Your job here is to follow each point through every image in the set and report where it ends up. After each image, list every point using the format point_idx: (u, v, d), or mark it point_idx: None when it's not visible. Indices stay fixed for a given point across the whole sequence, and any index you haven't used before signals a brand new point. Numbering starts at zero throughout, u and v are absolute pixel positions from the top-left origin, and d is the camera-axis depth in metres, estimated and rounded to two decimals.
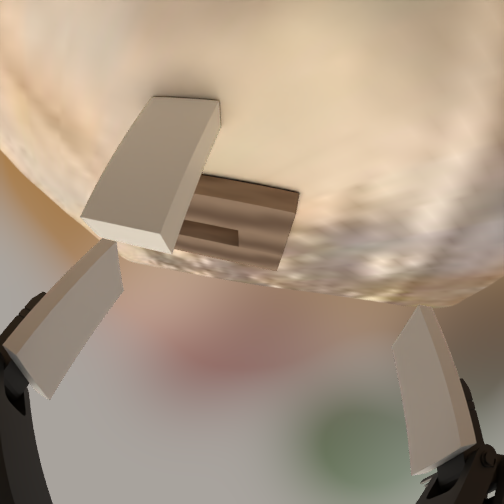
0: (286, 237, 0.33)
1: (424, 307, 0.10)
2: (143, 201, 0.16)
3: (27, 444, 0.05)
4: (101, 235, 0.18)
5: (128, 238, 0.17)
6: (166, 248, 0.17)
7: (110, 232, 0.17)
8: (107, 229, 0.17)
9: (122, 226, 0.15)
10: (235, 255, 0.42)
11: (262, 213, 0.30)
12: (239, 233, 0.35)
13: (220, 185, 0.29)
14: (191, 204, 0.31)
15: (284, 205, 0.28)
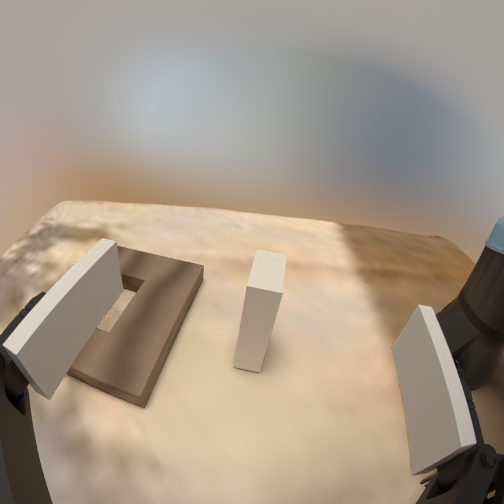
0: (90, 374, 0.23)
1: (424, 307, 0.10)
2: None
3: (27, 444, 0.05)
4: (260, 252, 0.28)
5: (264, 268, 0.26)
6: (256, 286, 0.24)
7: (268, 260, 0.27)
8: (273, 262, 0.27)
9: (284, 275, 0.25)
10: None
11: (139, 365, 0.25)
12: (102, 331, 0.27)
13: (169, 343, 0.30)
14: (158, 311, 0.32)
15: (145, 389, 0.24)
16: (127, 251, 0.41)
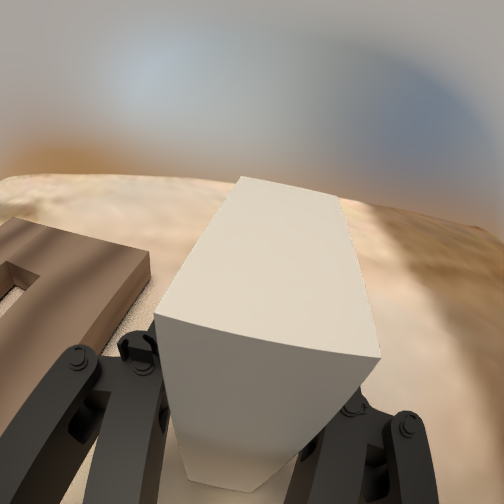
0: None
1: None
2: None
3: (157, 466, 0.06)
4: (252, 183, 0.08)
5: (265, 227, 0.06)
6: (216, 315, 0.04)
7: (281, 204, 0.07)
8: (302, 210, 0.07)
9: (354, 255, 0.05)
10: None
11: None
12: None
13: None
14: (39, 340, 0.12)
15: None
16: (38, 228, 0.21)
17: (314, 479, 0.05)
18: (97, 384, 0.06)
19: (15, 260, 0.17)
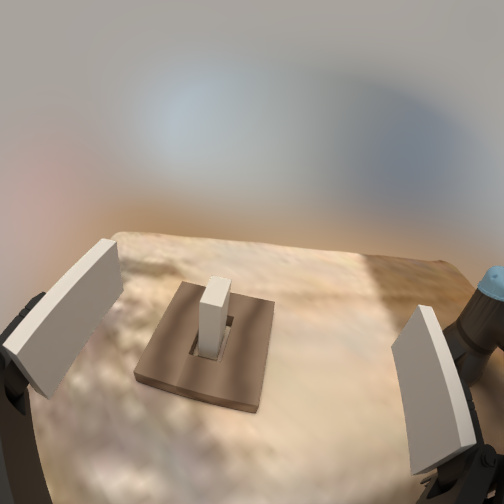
0: (217, 395, 0.34)
1: (424, 307, 0.10)
2: (224, 307, 0.39)
3: (27, 444, 0.05)
4: (213, 277, 0.41)
5: (213, 290, 0.39)
6: (205, 302, 0.36)
7: (217, 284, 0.40)
8: (221, 285, 0.40)
9: (226, 294, 0.38)
10: (168, 345, 0.40)
11: (251, 384, 0.37)
12: (215, 361, 0.39)
13: None
14: (253, 341, 0.44)
15: None
16: None
17: None
18: None
19: None
